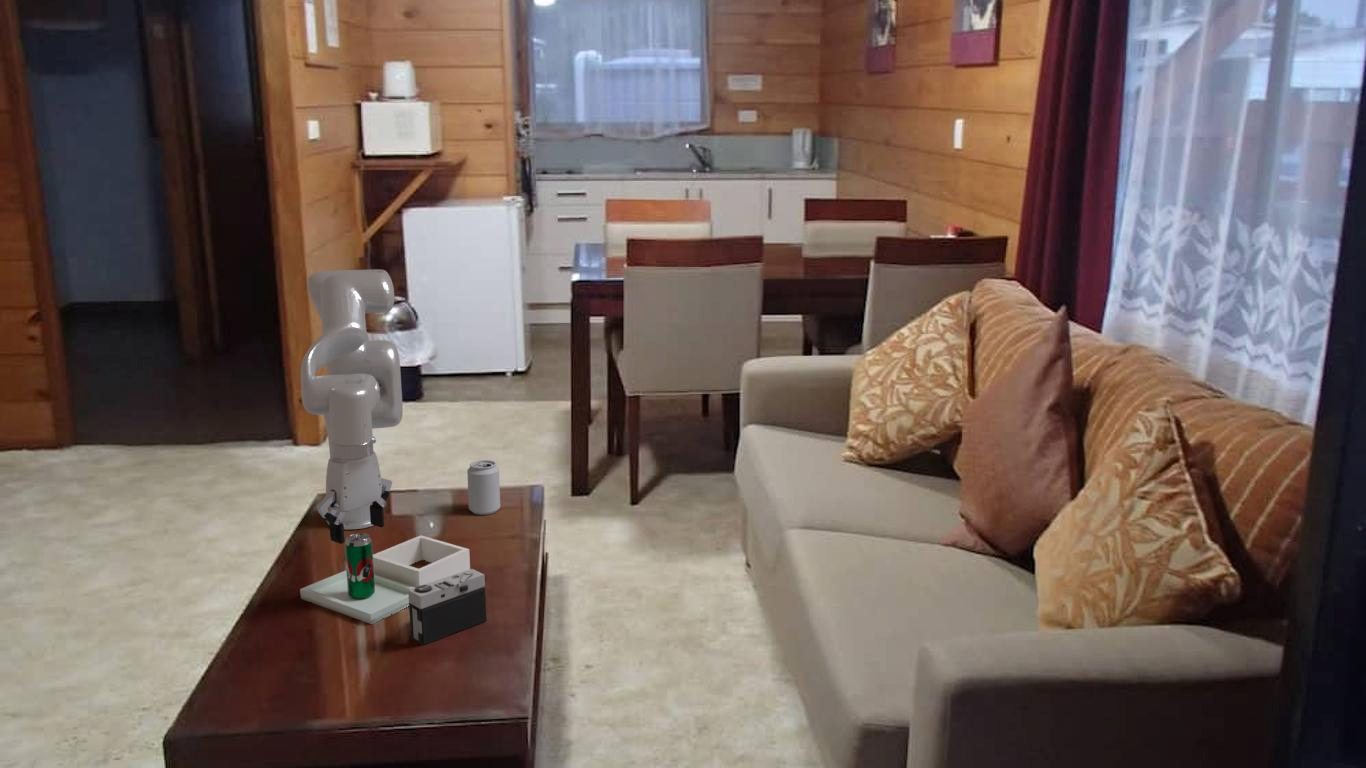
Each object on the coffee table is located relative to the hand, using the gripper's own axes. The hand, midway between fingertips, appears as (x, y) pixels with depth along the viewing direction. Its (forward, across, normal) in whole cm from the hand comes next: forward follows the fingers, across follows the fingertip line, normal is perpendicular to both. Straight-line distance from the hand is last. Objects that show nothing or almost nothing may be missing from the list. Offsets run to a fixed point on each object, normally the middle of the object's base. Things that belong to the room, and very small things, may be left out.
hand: (357, 533), depth 206 cm
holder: (+14, -14, +2) cm, 19 cm away
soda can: (+13, +1, +1) cm, 13 cm away
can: (+15, -50, -14) cm, 54 cm away
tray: (+13, +1, +1) cm, 13 cm away
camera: (+13, 0, +23) cm, 26 cm away
